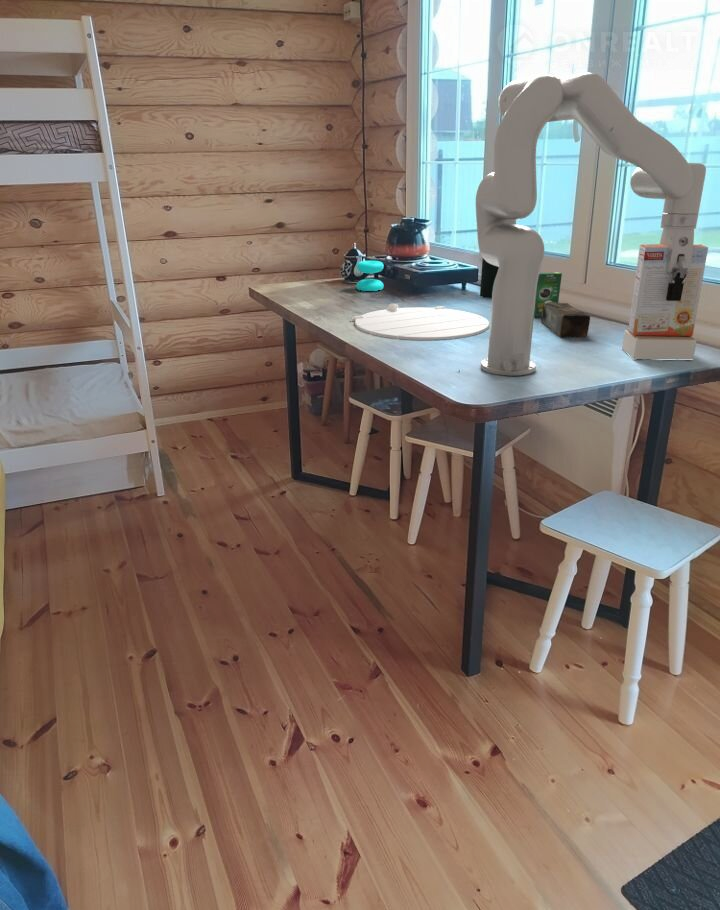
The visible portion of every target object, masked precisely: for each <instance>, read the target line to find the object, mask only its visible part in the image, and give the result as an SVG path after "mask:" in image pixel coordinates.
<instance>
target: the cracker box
mask: <svg viewBox="0 0 720 910" xmlns="http://www.w3.org/2000/svg"><path fill="white" fill-rule="evenodd" d="M708 250H709V247H708V246H705V245H703V244H693V252H692V260H691V267H690V271H689V273H687V274H686V277H685V282H684V285H683V291H682V296H681V300H680V301H667V300H666V296H667V290H668V284H669V283H671V281H670V274H669V273H667V272H666V260H667V251H668V247H666V246H665V245H662V244H660V243H659V244H652V243H650V244H640V245H639V249H638V255H637V265H636V270H635V278H634V286H633V291H632V292H633V293H632V301H631V307H630V313H629V321H628V322H629V323H628V328H627V329H628V330H629V331H630V332H631V333H632V334H633V335H647V336H691V337H693V336H694V331H695V325H696V321H697V320H696V319H697V313H698V307H699V303H700V302H699V301H700V296H701V290H702V285H703V279H704V274H705V267H706V262H707V255H708ZM677 263H678V261H677ZM674 276H676V275H674Z"/></svg>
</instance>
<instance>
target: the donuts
mask: <svg viewBox="0 0 720 910" xmlns="http://www.w3.org/2000/svg"><path fill="white" fill-rule="evenodd" d="M355 266H356V270H357V271H358V272H360V273H363V274H364V273H365V274H376V273H380V272H382V271H383V269H384V266H385V265H384V263H383V262H382V261H379V260H362V261H358V262H357V263H356V265H355ZM384 288H385V287H384V282H382V281H381V280H379V279H377V278H364V279H360V280H359V281H358V282H357V283H356V289H357V290H358V291H360V290H361V291H360V292H365V291H375V292H379V291H378V290H380V291H382V290H383V289H384Z"/></svg>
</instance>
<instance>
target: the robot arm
mask: <svg viewBox="0 0 720 910" xmlns="http://www.w3.org/2000/svg"><path fill="white" fill-rule="evenodd" d="M501 90H502V91H501V92H500V94H499V97H498V110H499V113H500V115H501V116H502V117H501V120H500V123H499V124H498V127H497V130H496V132H495V137H494V143H493V172H490V173H489V174H487V175H486V176H484V178H483V179H482V180H481V181H480V183H479V184H478V187H477V191H476V193H475V195H476V196H475V217H476V218H475V219H476V220H475V221H476V232H477V245H478V249H479V253H480V256H481V257H482V259H483V258H484V260H485V261H486V262H488V263H490V264H492V265H494V266H497V267H499V269H498V272H497V275H496V278H495V281H494V285H493V292H492V298H491V307H490V308H491V309H490V322H489V336H488V339H489V340H488V350H487V351H488V353H487V358H484V359H482V360H481V361H480V368H481V370H482V371H484V372H487V373H489V374H493V375H499V376H512V377H514V376H515V377H517V376H525V375H530V374H533V373H534V372H535V371H536V370H537V364H536V363H535V362H534V361H532V360H531V352H532V349H531V348H532V342H533V341H532V340H533V330H534V329H533V328H534V321H535V320H534V318H535V317H534V310H535V299H536V289H537V282H538V277H539V273H541V268H542V265H543V261H544V256H545V244H544V240H543V238H542V236H541V235H540V234H539V233H538V232H537V231H536V230H535V229H533V228H531V227H528V226H525V225H520V224H517V220H522V219H525V218H527V217H529V216H531V214H532V213H533V212H534V210H535V208H536V205H537V200H538V191H537V190H538V189H537V188H538V186H537V184H538V183H537V182H538V181H537V145H538V144H537V143H538V140H539V137H540V134H541V133H542V130H543V128H544V127H545V125H546V124H547V123H550V122H552V123H553V122H559V121H568V120H569V121H572V120H574V121H576V122H577V123H578V124H579V125H580V126H581V128H582V129H583V130H584V131H585V132H586V133H587V134H588V136H589V137H591V139H592V141H594V142H595V144H596V145H597V146H598V147H599V148H600V149H601V151H602V152H603V153H605V154H607V155H609V156H610V157H612V158H615V159H617V160H620V161H623V162H626V163H629V164H631V165H633V166H635V167H636V169H635V170H634V171H633V173H632V175H631V177H630V182H629V183H630V188H631V190H632V192H633V193H634V194H635V195H636V196H638V197H640V198H645V199H655V200H657V199H658V200H664V201H663V203H664V204H663V207H662V208H663V209H662V216H661V222H660V229H662V232H661V236H660V240H659V241H660V242H659V244H662V245H665V246H666V247H668V251H667V260H666V272H667V273H669V274H670V281H671V283H669V284H668V290H667V296H666V300H667V301H680V300H681V296H682V291H683V285H684V282H685V277H686V274H687V273H689V271H690V267H691V260H692V252H693V245H694V242H695V241H694V240H695V229H696V228H697V225H698V224H697V223H698V218H699V212H700V208H701V206H700V205H701V201H702V197H703V191H704V185H705V180H706V173H707V167H706V165H705V164H703V163H701V162H700V163H699V162H688V161H687V160H686V158H685V157H684V156H683V154H682V153H681V151H680V150H679V149H678V148H677V147H676V146H675V145H674V144H673V143H672V142H671V141H669V140H668V139H666V138H665V137H664V136H662V135H661V134H659V133H658V132H656V131H655V130H653V129H652V128H650V127H649V126H648V125H646V124H645V123H642V122H641V121H639V119H637V117H635V115H634V114H633V112H631V110H630V109H629V108H628V107H627V105H625V103H624V102H623V100H621V98H620V97H619V95H617V93H616V92H615V91H614V89H613V88H612V87H611V85H609V83H608V82H607V81H606V79H605V78H603V77H602V76H601V75H599V74H598V73H595V72H584V73H578V74H572V75H568V76H562V77H556V76H554V75H552V74H536V75H531V76H529V77H524V78H523V77H522V78H518V79H515V80H513V81H511V82H509V83H508V84H507V85H506V86H504V88H503V89H501ZM677 261H678V263H677ZM674 275H676V276H674Z"/></svg>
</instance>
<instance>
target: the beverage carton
mask: <svg viewBox="0 0 720 910" xmlns="http://www.w3.org/2000/svg"><path fill="white" fill-rule="evenodd" d="M540 318H541V319H540V323H541V324H542V325H544V326H545V327H546V328H547V329H548V330H549V331H552V332H553V333H554V334H556V335H557V336H558V337H559V338H587V337H588V334H589V328H590V324H591V322H590V321H591V316H590V315H588V314H587V313H585V312H583V311H582V310H579V309H578V308H576V307H574V306H572V305H571V304H569V303H567V302H565V303H564V302H558V303H554V302H549V303H544V304H543V308H542V316H541V317H540Z"/></svg>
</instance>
